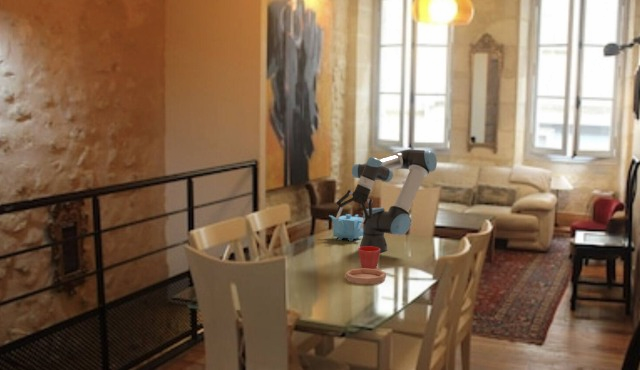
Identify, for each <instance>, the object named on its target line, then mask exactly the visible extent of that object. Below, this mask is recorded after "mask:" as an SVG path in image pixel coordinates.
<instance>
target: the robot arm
mask: <svg viewBox="0 0 640 370" xmlns="http://www.w3.org/2000/svg"><path fill="white" fill-rule="evenodd" d="M437 164H438V160H437V156H436V154H435V151H432V150H428V149H412V148H411V149H404V150H400V151H397V152H393V153H392V154H390V155H389V156H386V157H382V158H376V157H374V156H369V157H368V159H367V160H366V162H365V163H362V164H361V163H356V164H354V165H353V166H352V168H351V175H352V177H354V178H356V179H358V183H357V185H356V186H355V189H354V191H352V190H351V189H348V190H347V192H346V193H345V194H344V195H343V196H342V197H341V198H339V200H337V201H336V205H337V206H338V207H337V210H336V217H335V218H336V219H339V217H340V216H341V214H342V212H343V209H344V206H346V205H348V204H351V203H352V202H354V203H357V204H358V205H361V206H362V207H361V208H362V211H363V215H362V218H363V221H362V223H361V225H360V228H359V230H362V228H363V236H362V238H361V241H360V243H359V248H360V247H364V246H373V247H378V248H380V253H382V252H386V251H387V250H388V244H387V241H386V238H385V234H388V235H389V234H390V235H395V236H403V235H405V234H406V233H407V232H408V231H409V230H410V227H411V222H412V220H411V219H412V218H411V214H410V212H409V211H410V209H411V207H412V205H413V203H414V200H415V198H416V196H417V194H418V192H419V189H420V186H421V185H422V182H423V180H424V178H427V177H428V176H429V174H430V172H435V170H436V169H437ZM401 169H402V170H408V171H409V172H408V174H407V176H406V177H405V178H406V179H405V180H404V183H403V185H402V187H401V189H400V192H399V194H398V196H397V198H396V200H395V202H394V204H393V205H391V206H390V207H389V209H388V210H387V211H385V208H384V207H373V203H374V200H373V199H370V198H369V196H370V193H371V191H372V188H373V186H374V183H375V181H381V182H383V183H384V182H385V183H388V182H390V181H392V179H393V176H394V173H393V170H401ZM351 195H352V197H350V198H349V196H351ZM348 198H349V199H348ZM346 199H347V200H346ZM345 200H346V201H345ZM366 202H367V203H366ZM366 204H368V208H367V205H366Z"/></svg>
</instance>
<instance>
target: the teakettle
mask: <svg viewBox="0 0 640 370" xmlns="http://www.w3.org/2000/svg"><path fill="white" fill-rule="evenodd" d="M329 217H330V218H331V221H332V226H333V228H332V229H333V230H332V234H333V236H332V237H334V238H335V237H336V238H337V240H338V241H340V240H342V239H343V240H344V239H348V240H349V242H353V241H354V240H359V238H360V237H363V228H362V230H359V228H360V225H361V223H362V221H363V217H360V216H359V214H355V215H353V216H352V214H351V213H350V214H349V213H348V214H347V213H346V214H345V215H340V217H339V219H336V217H335V216H333V215H329Z"/></svg>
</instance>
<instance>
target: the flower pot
mask: <svg viewBox="0 0 640 370" xmlns="http://www.w3.org/2000/svg"><path fill="white" fill-rule="evenodd" d="M357 250H358V255H359V256H358V257H359V263H360V267H361V268H368V269H378V265H379V264H378V263H379V259H380V254H381V252H380V248H378V247H373V246H364V247H360V246H359V247H358V248H357Z"/></svg>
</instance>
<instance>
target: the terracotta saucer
mask: <svg viewBox="0 0 640 370" xmlns="http://www.w3.org/2000/svg"><path fill="white" fill-rule="evenodd" d="M344 275H345V279H346V281H347V282H350V283H352V284H357V285H378V284H380V283H384V282H385V281H386V278H387V272H385V271H382V270H380V269H378V268H376V269H368V268H362V267H361V268H354V269H349V270H348V271H347V272H346V273H345V274H344Z"/></svg>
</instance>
